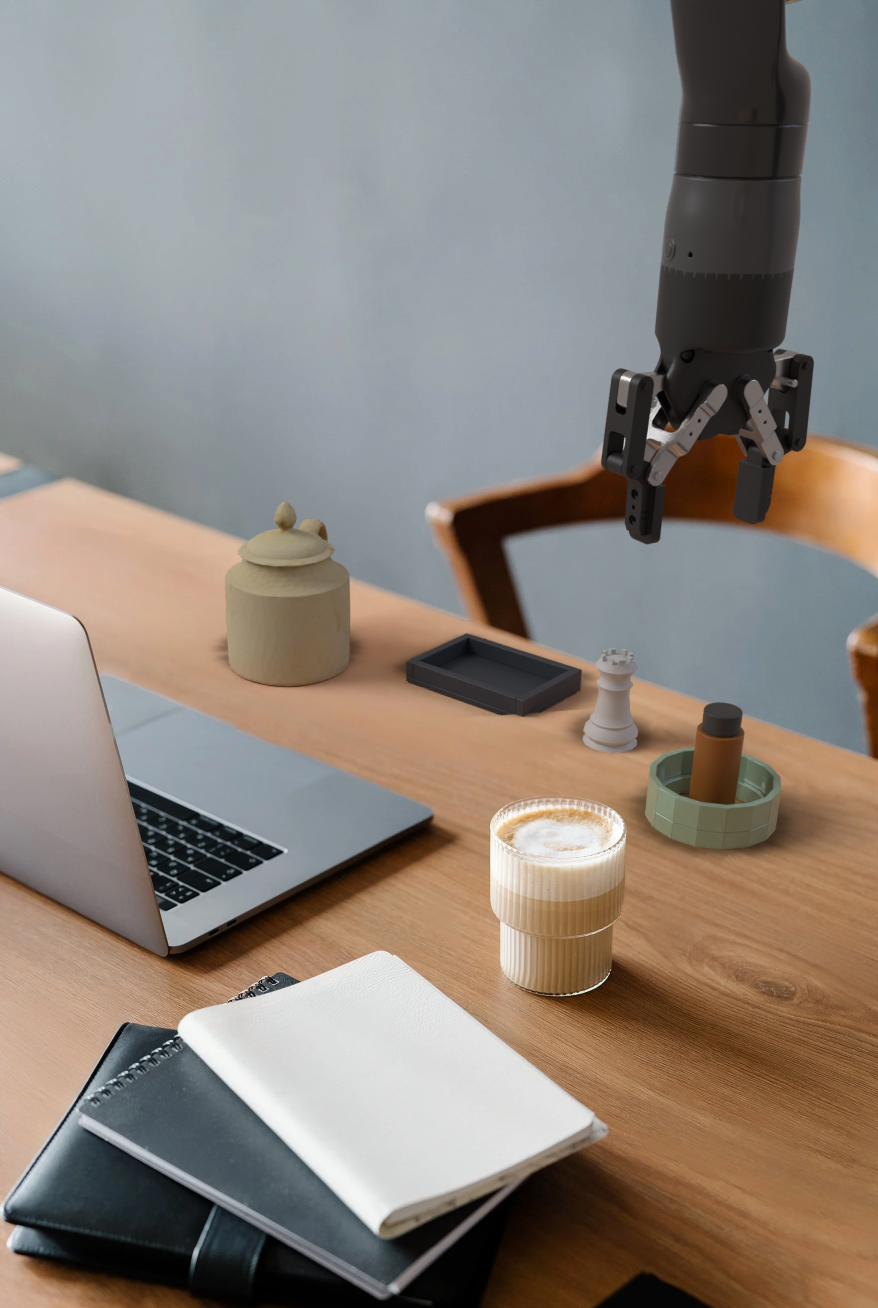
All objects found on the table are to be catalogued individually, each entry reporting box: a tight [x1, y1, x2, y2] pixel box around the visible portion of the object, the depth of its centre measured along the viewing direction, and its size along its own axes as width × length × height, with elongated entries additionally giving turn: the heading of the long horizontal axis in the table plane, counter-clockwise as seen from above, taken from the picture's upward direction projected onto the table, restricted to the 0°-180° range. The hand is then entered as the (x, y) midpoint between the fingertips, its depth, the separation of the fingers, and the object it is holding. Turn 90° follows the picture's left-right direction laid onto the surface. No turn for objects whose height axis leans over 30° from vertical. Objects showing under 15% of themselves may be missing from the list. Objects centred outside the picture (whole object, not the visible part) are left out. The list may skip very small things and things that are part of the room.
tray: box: [405, 632, 583, 718], centre depth 121 cm, size 13×9×2 cm
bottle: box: [688, 701, 745, 805], centre depth 97 cm, size 3×3×9 cm
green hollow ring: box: [644, 746, 783, 851], centre depth 98 cm, size 9×9×4 cm
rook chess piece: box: [582, 647, 639, 754], centre depth 109 cm, size 4×4×8 cm
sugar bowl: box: [224, 501, 351, 687], centre depth 124 cm, size 15×11×15 cm
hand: (697, 530), depth 87 cm, fingers open, 8 cm apart
